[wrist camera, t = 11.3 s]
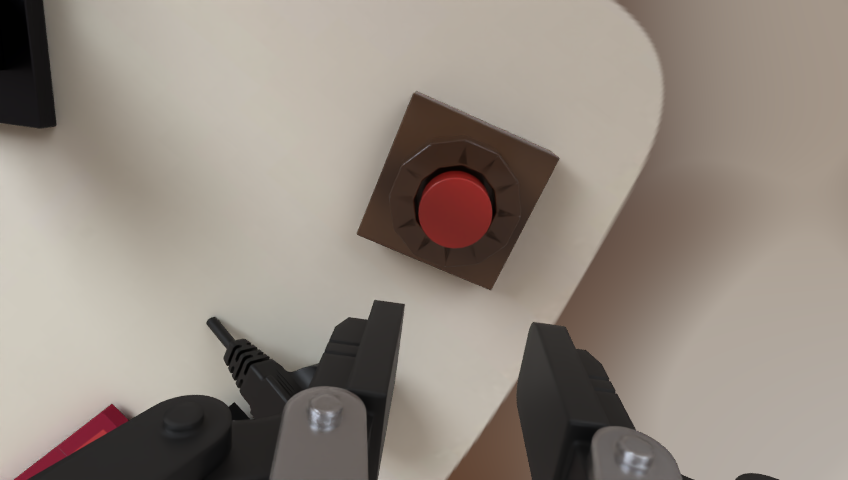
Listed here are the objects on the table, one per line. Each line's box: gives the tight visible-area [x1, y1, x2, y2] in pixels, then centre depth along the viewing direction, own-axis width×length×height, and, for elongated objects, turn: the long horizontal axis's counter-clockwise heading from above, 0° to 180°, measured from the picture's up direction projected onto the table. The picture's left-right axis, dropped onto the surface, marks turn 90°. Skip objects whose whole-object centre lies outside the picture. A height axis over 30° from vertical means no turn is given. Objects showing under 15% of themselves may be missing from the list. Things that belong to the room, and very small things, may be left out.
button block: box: [357, 91, 559, 290], centre depth 26 cm, size 8×8×4 cm
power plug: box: [207, 317, 319, 419], centre depth 31 cm, size 6×8×12 cm
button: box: [419, 171, 492, 248], centre depth 24 cm, size 3×3×2 cm
